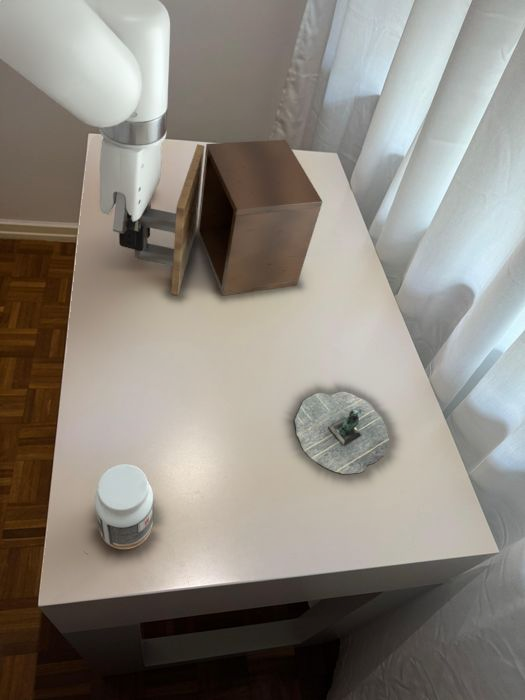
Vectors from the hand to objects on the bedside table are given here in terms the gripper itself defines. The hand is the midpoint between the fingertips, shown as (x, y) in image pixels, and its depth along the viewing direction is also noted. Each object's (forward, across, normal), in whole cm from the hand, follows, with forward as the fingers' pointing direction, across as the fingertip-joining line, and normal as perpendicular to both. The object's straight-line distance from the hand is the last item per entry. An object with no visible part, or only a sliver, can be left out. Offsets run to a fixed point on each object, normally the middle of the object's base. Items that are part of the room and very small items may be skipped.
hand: (134, 240), depth 79 cm
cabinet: (+7, -9, +15) cm, 19 cm away
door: (+6, -5, +3) cm, 8 cm away
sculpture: (+7, +17, +33) cm, 38 cm away
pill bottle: (+7, +36, +11) cm, 38 cm away
